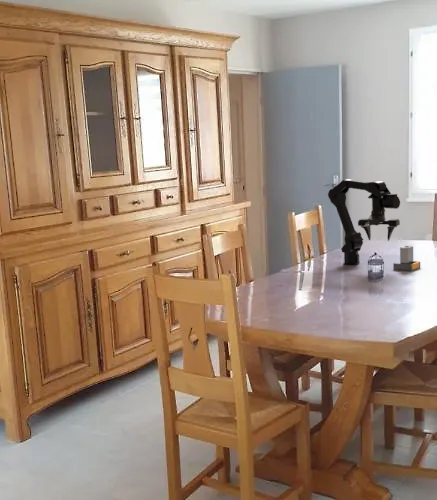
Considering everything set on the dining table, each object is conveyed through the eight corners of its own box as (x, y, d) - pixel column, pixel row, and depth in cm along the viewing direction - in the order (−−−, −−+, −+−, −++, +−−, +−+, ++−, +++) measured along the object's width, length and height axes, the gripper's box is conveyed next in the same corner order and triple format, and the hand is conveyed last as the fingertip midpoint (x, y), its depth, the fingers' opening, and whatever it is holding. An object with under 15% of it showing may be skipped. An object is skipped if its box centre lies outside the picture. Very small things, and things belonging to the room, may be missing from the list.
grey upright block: (400, 268, 307) (400, 246, 305) (405, 266, 310) (405, 245, 308) (408, 269, 304) (408, 247, 302) (413, 267, 307) (413, 245, 306)
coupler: (393, 269, 307) (393, 263, 306) (402, 266, 313) (402, 260, 313) (411, 271, 301) (411, 265, 300) (420, 268, 307) (420, 261, 307)
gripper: (353, 209, 309) (354, 242, 311) (392, 210, 299) (393, 243, 301) (361, 207, 318) (362, 238, 320) (399, 207, 308) (400, 239, 311)
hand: (379, 240), depth 313 cm, fingers open, 9 cm apart
